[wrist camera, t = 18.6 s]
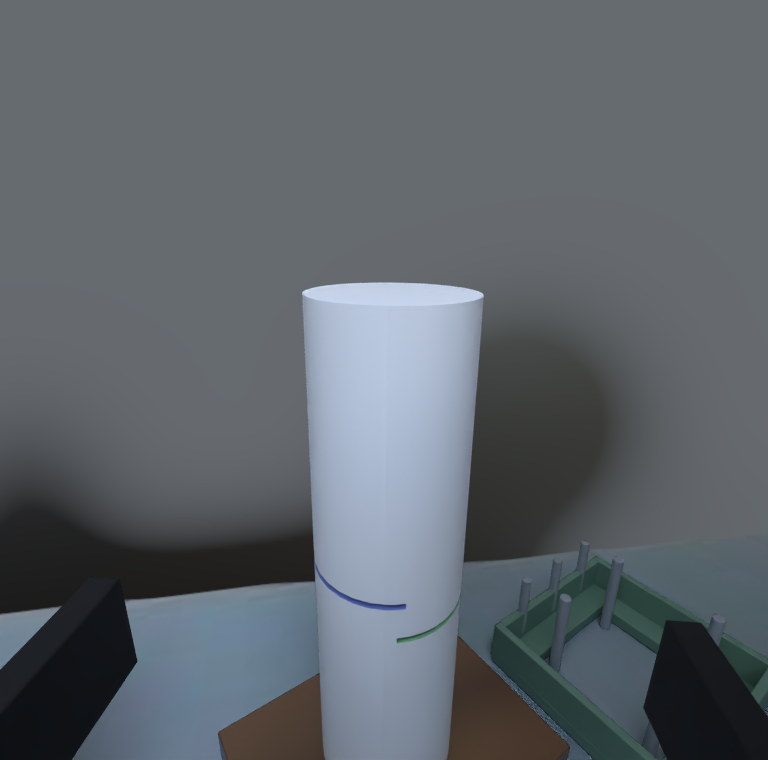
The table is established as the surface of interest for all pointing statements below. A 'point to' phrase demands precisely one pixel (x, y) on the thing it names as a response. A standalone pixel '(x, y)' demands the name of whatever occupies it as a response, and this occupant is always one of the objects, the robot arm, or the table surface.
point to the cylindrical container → (389, 507)
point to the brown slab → (467, 731)
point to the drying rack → (615, 604)
